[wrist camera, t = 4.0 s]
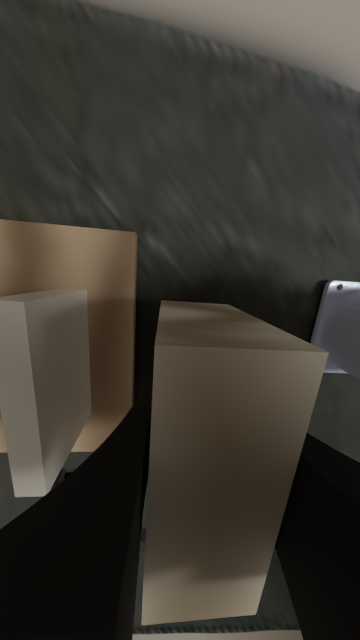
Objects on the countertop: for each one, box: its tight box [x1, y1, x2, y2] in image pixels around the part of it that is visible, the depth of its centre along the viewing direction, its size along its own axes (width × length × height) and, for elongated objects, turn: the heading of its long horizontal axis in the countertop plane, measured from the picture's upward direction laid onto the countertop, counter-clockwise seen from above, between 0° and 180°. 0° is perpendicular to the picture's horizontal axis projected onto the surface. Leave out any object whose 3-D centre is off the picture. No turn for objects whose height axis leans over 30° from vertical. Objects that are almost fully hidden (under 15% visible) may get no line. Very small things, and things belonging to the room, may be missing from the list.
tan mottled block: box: [141, 300, 329, 625], centre depth 9 cm, size 4×10×7 cm, turn 176°
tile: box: [0, 288, 91, 497], centre depth 11 cm, size 2×10×6 cm, turn 176°
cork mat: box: [0, 219, 137, 452], centre depth 14 cm, size 16×18×1 cm
